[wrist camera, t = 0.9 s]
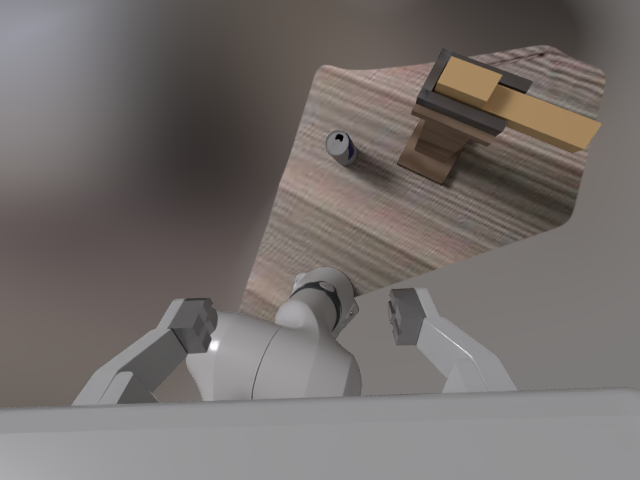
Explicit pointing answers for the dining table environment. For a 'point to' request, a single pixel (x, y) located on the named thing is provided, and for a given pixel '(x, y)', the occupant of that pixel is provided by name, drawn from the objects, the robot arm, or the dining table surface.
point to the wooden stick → (514, 106)
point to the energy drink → (341, 147)
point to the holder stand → (450, 123)
